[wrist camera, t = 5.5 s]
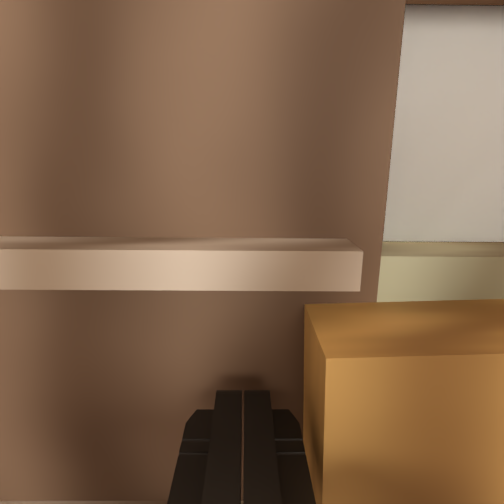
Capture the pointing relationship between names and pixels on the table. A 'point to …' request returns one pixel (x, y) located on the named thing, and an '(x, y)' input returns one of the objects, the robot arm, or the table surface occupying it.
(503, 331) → the ochre block
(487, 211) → the table surface
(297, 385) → the compartment board
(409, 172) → the table surface
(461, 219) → the table surface
